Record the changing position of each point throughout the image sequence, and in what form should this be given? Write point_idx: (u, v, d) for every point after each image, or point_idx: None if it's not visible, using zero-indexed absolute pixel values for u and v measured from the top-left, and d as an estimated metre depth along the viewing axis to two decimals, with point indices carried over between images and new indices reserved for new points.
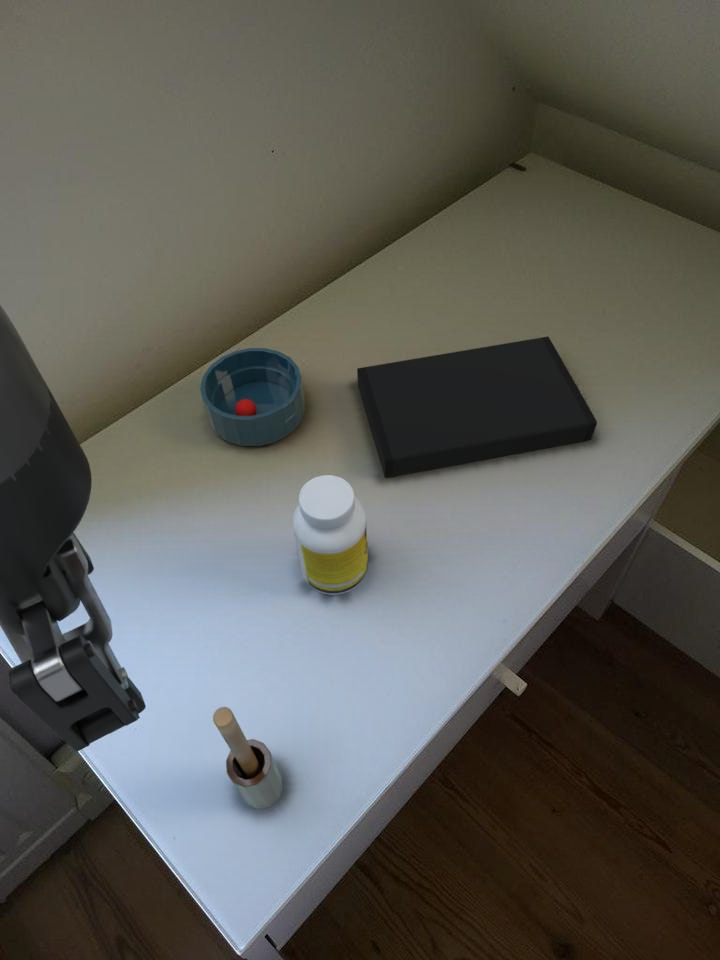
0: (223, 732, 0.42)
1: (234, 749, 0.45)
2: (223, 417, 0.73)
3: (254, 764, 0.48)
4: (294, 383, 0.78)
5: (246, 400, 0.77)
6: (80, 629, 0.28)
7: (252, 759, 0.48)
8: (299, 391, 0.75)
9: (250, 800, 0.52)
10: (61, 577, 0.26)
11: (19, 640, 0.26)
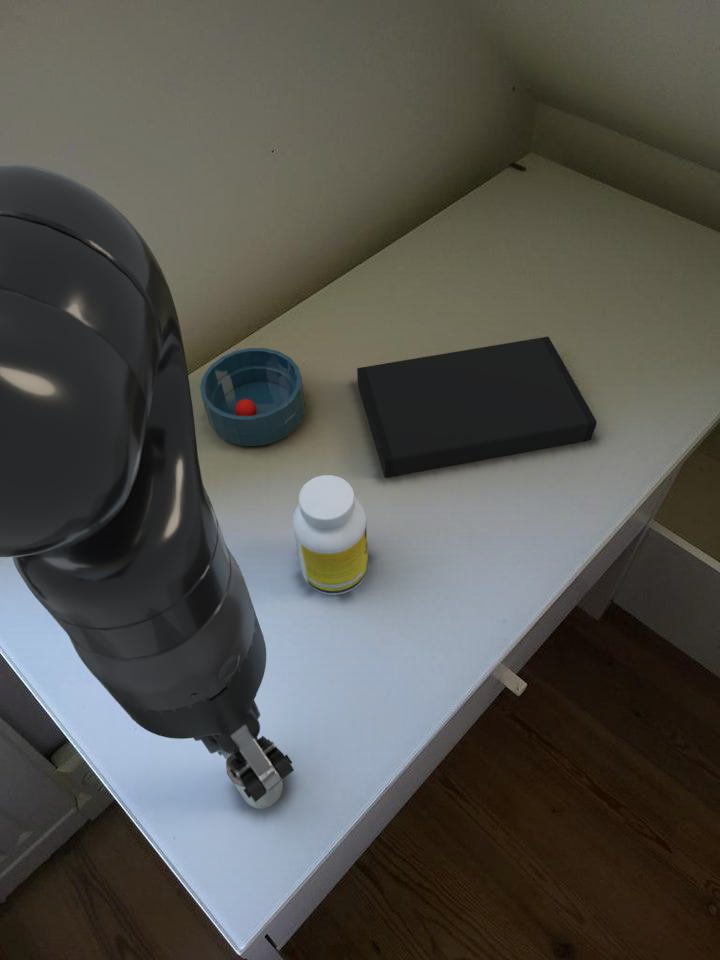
0: None
1: None
2: (223, 417, 0.73)
3: None
4: (294, 383, 0.78)
5: (246, 400, 0.77)
6: None
7: None
8: (299, 391, 0.75)
9: (250, 800, 0.52)
10: None
11: (210, 742, 0.38)
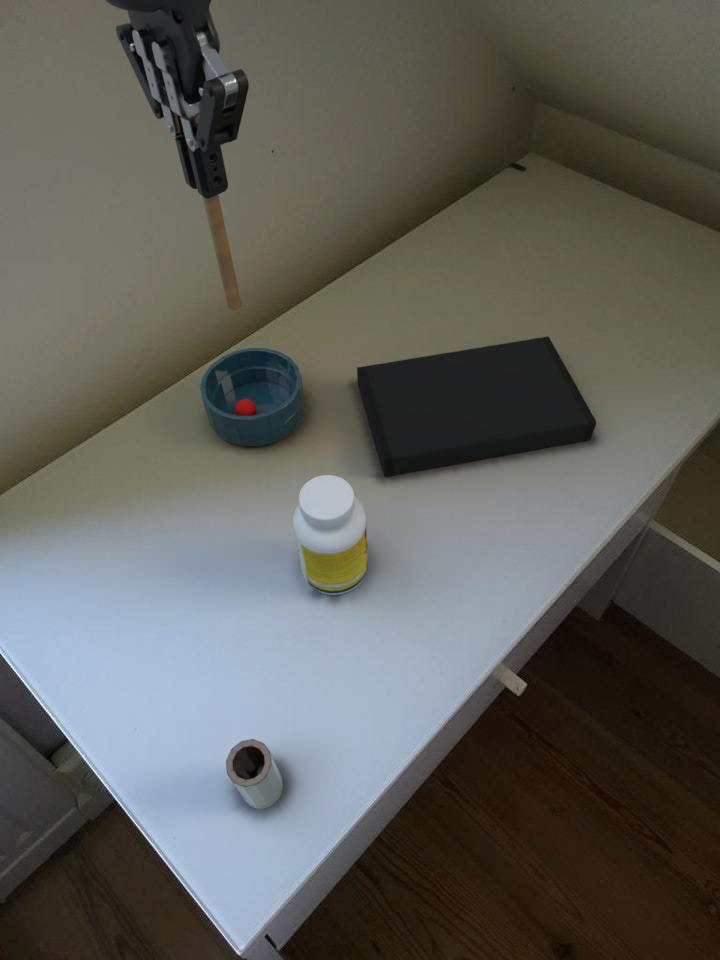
0: None
1: None
2: (223, 417, 0.73)
3: (225, 239, 0.55)
4: (294, 383, 0.78)
5: (246, 400, 0.77)
6: None
7: (223, 227, 0.54)
8: (299, 391, 0.75)
9: (250, 800, 0.52)
10: None
11: (179, 92, 0.44)
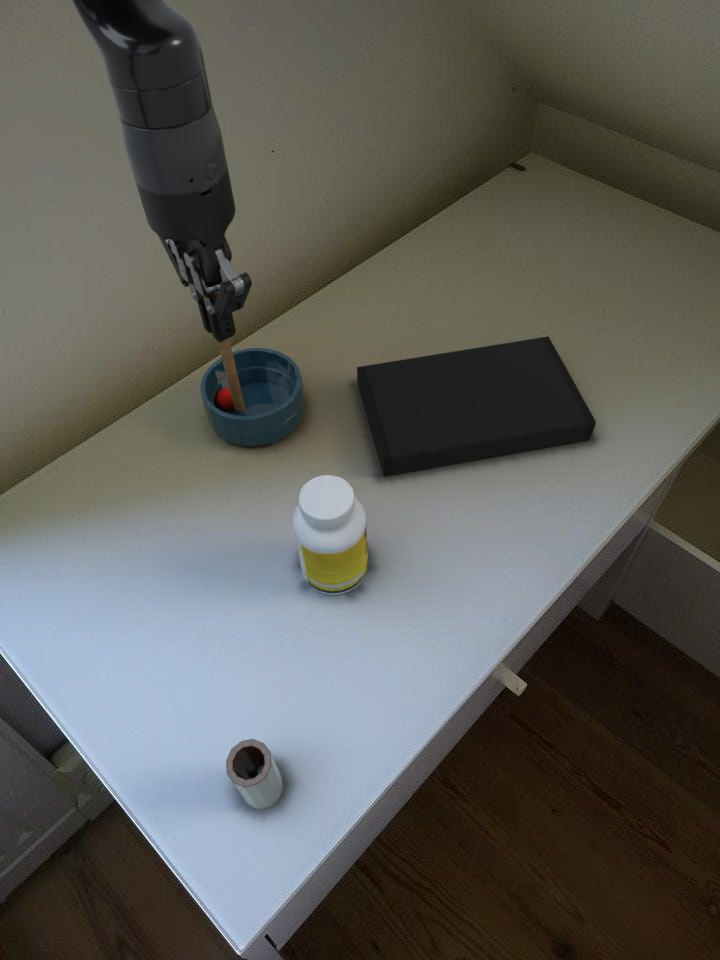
0: None
1: None
2: (223, 417, 0.73)
3: (233, 365, 0.72)
4: (294, 383, 0.78)
5: None
6: None
7: (232, 357, 0.72)
8: (299, 391, 0.75)
9: (250, 800, 0.52)
10: None
11: (202, 281, 0.62)
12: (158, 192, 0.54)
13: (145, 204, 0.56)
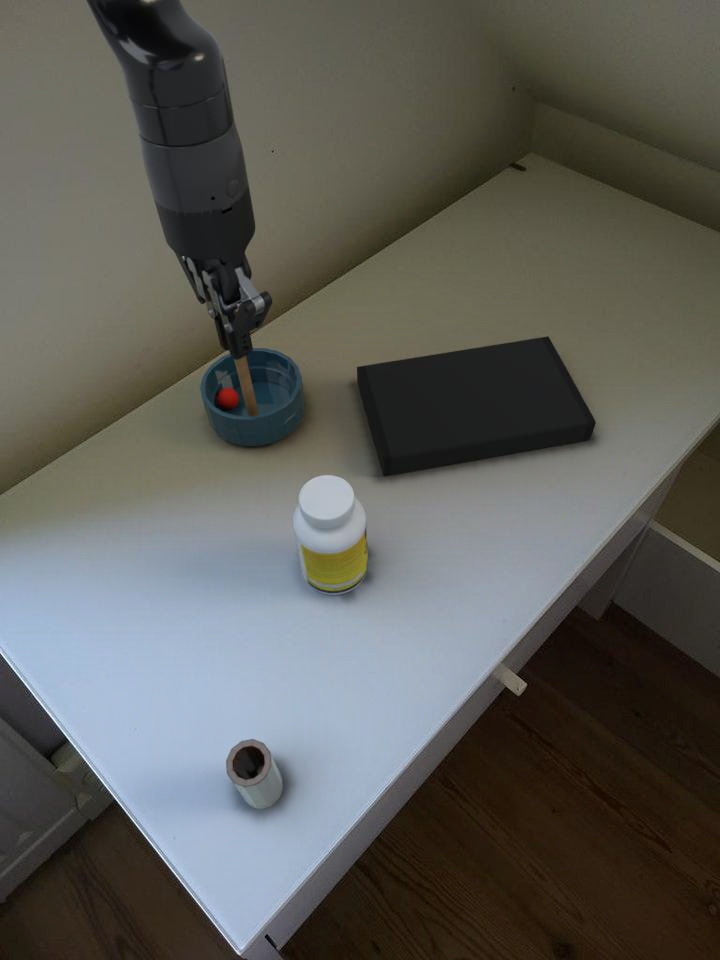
0: None
1: None
2: (223, 417, 0.73)
3: (249, 382, 0.71)
4: (294, 383, 0.78)
5: None
6: None
7: (248, 374, 0.70)
8: (299, 391, 0.75)
9: (250, 800, 0.52)
10: None
11: (220, 300, 0.60)
12: (178, 210, 0.52)
13: (164, 222, 0.54)
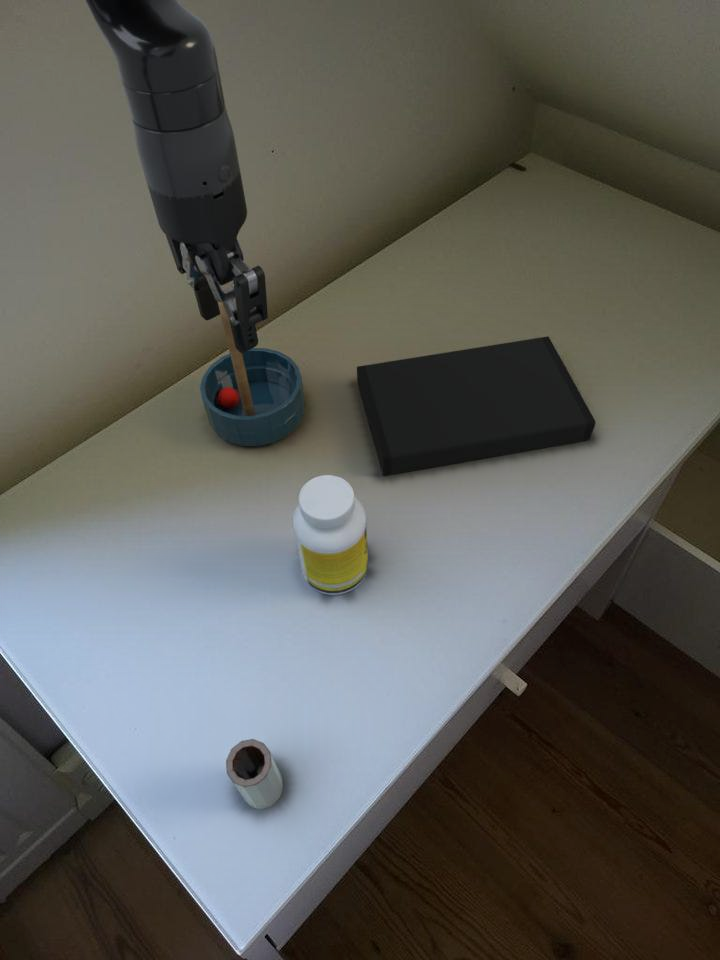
0: (223, 313, 0.66)
1: (230, 341, 0.69)
2: (223, 417, 0.73)
3: (244, 373, 0.73)
4: (294, 383, 0.78)
5: None
6: None
7: (243, 365, 0.72)
8: (299, 391, 0.75)
9: (250, 800, 0.52)
10: None
11: (217, 285, 0.60)
12: (171, 195, 0.53)
13: (157, 207, 0.55)
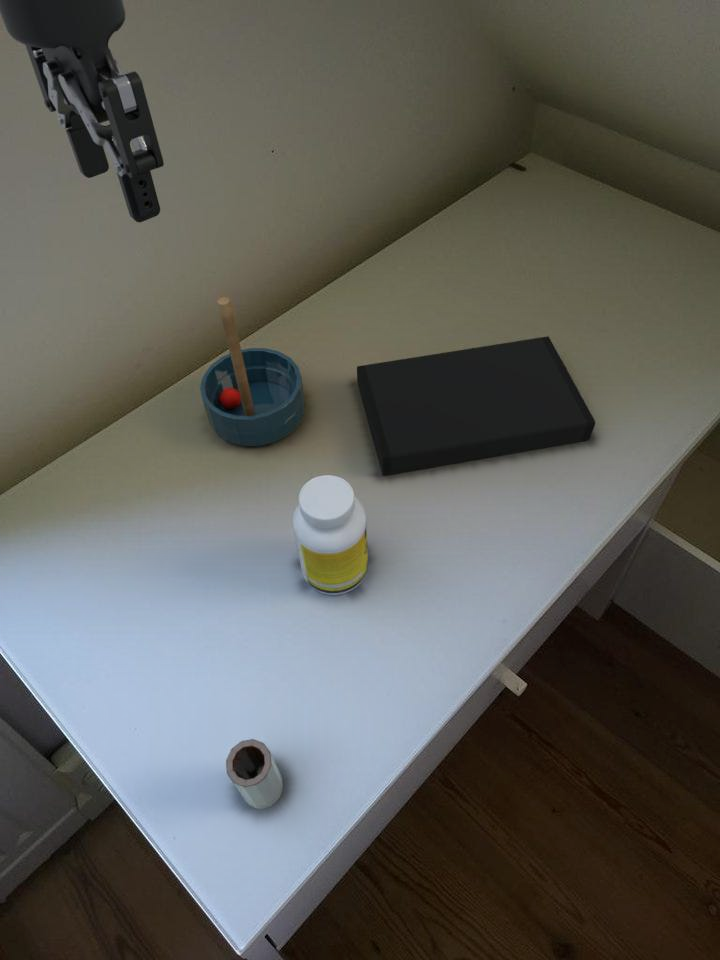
0: (223, 314, 0.66)
1: (230, 341, 0.69)
2: (223, 417, 0.73)
3: (244, 373, 0.73)
4: (294, 383, 0.78)
5: None
6: None
7: (243, 365, 0.72)
8: (299, 391, 0.75)
9: (250, 800, 0.52)
10: None
11: (90, 114, 0.46)
12: None
13: None
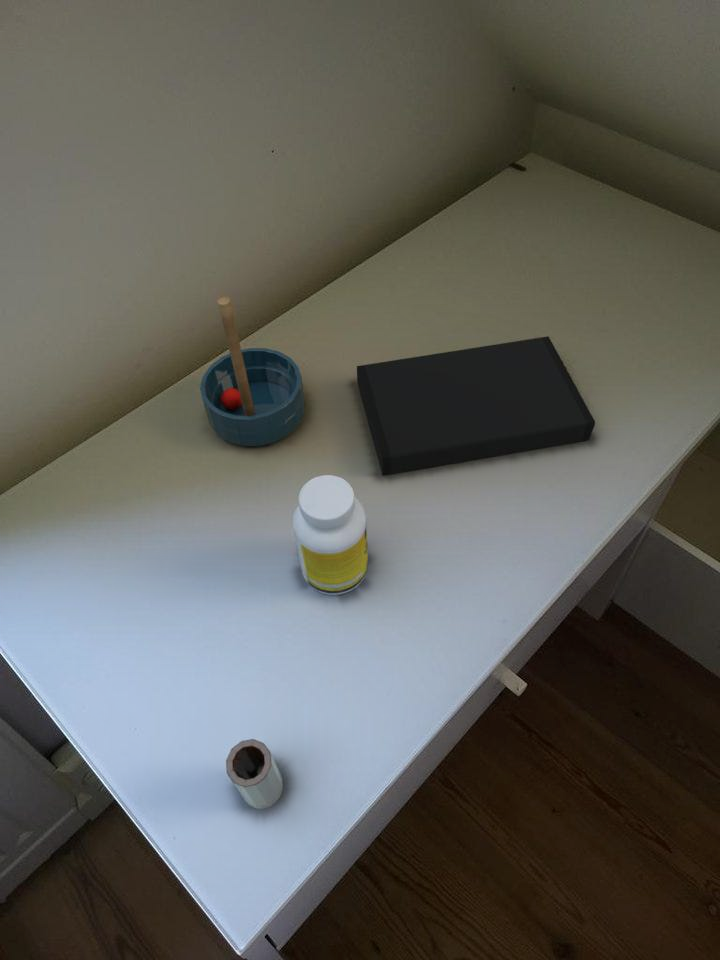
0: (223, 314, 0.66)
1: (230, 341, 0.69)
2: (223, 417, 0.73)
3: (244, 373, 0.73)
4: (294, 383, 0.78)
5: None
6: None
7: (243, 365, 0.72)
8: (299, 391, 0.75)
9: (250, 800, 0.52)
10: None
11: None
12: None
13: None
